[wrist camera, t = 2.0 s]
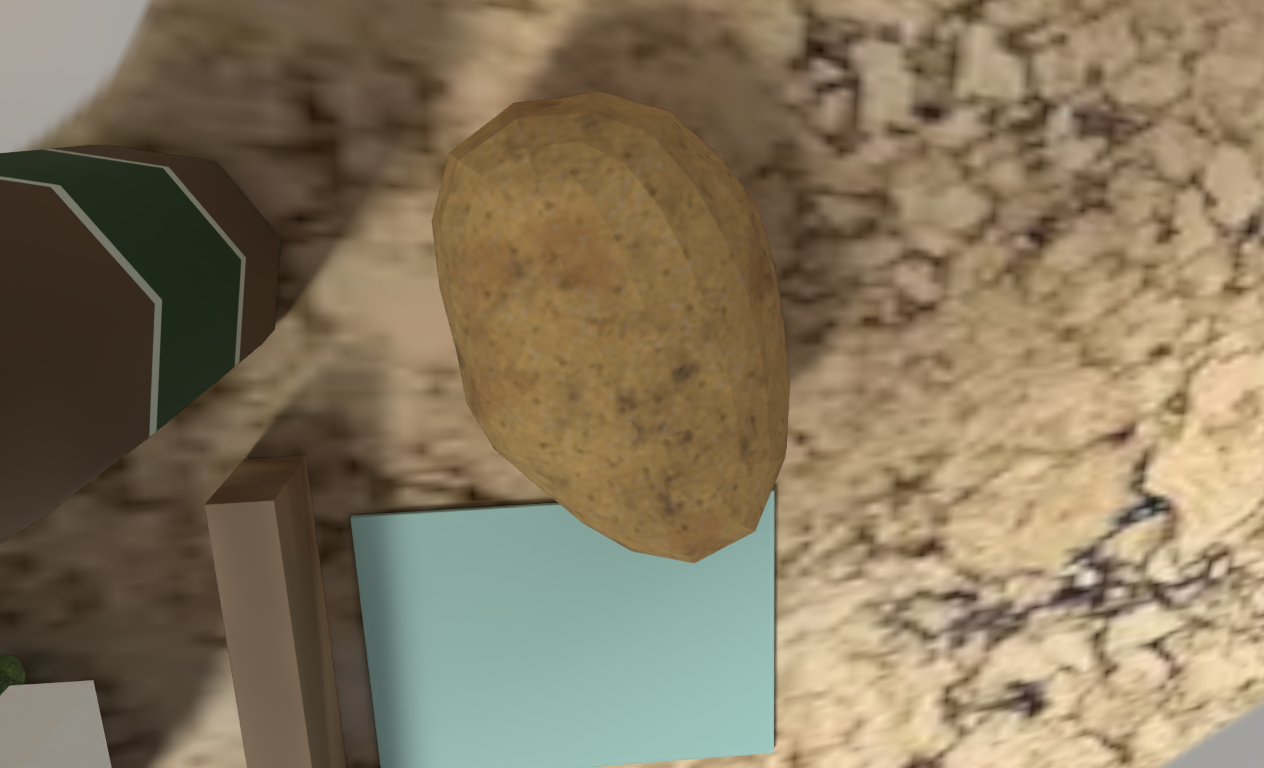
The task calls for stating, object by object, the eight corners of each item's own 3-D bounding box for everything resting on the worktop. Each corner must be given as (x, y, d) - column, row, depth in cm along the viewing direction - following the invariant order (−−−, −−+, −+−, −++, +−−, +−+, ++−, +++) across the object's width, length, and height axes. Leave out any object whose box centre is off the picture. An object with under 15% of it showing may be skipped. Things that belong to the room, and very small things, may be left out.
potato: (565, 543, 35) (568, 666, 28) (381, 164, 31) (325, 184, 24) (824, 433, 35) (901, 527, 27) (670, 36, 31) (709, 14, 23)
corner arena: (319, 958, 39) (293, 1051, 35) (244, 458, 34) (204, 504, 30) (741, 920, 40) (761, 1007, 36) (737, 429, 35) (759, 470, 31)
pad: (383, 779, 37) (382, 783, 37) (351, 515, 34) (350, 517, 34) (772, 749, 38) (773, 752, 38) (773, 489, 35) (774, 491, 35)
